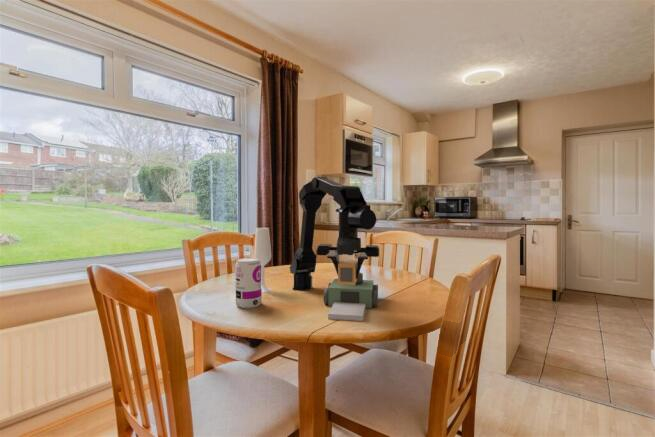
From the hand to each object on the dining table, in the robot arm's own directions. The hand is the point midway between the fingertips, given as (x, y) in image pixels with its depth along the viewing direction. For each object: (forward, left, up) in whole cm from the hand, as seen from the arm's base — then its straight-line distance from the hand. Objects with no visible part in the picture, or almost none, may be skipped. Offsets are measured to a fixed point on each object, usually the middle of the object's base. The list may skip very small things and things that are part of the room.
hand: (348, 278), depth 102 cm
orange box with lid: (0, 0, -1) cm, 1 cm away
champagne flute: (-35, +19, -11) cm, 41 cm away
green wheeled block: (0, +5, -10) cm, 12 cm away
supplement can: (-33, +1, -11) cm, 35 cm away
